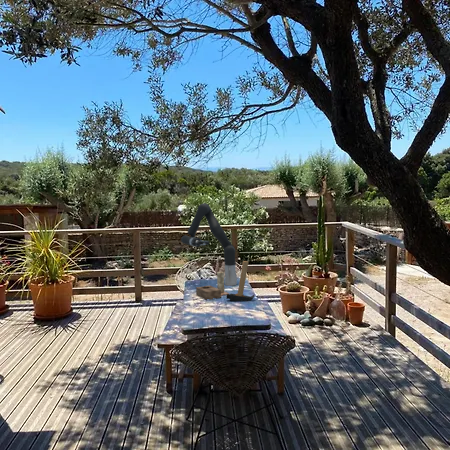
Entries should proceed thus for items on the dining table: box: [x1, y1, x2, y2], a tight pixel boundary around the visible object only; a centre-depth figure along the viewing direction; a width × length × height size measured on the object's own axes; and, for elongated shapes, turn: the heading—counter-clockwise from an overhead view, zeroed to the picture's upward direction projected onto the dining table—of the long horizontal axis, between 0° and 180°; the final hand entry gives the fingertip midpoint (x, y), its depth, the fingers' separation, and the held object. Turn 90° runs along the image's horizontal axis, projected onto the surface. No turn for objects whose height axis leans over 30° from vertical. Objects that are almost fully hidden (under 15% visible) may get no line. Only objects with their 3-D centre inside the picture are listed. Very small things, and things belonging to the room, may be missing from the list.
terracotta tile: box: [221, 290, 230, 297], centre depth 335 cm, size 8×12×1 cm, turn 29°
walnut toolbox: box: [195, 285, 222, 301], centre depth 327 cm, size 12×18×6 cm, turn 29°
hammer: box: [225, 260, 255, 302], centre depth 312 cm, size 20×5×30 cm, turn 91°
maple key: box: [216, 271, 225, 293], centre depth 334 cm, size 4×4×16 cm
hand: (203, 244), depth 343 cm, fingers open, 8 cm apart
